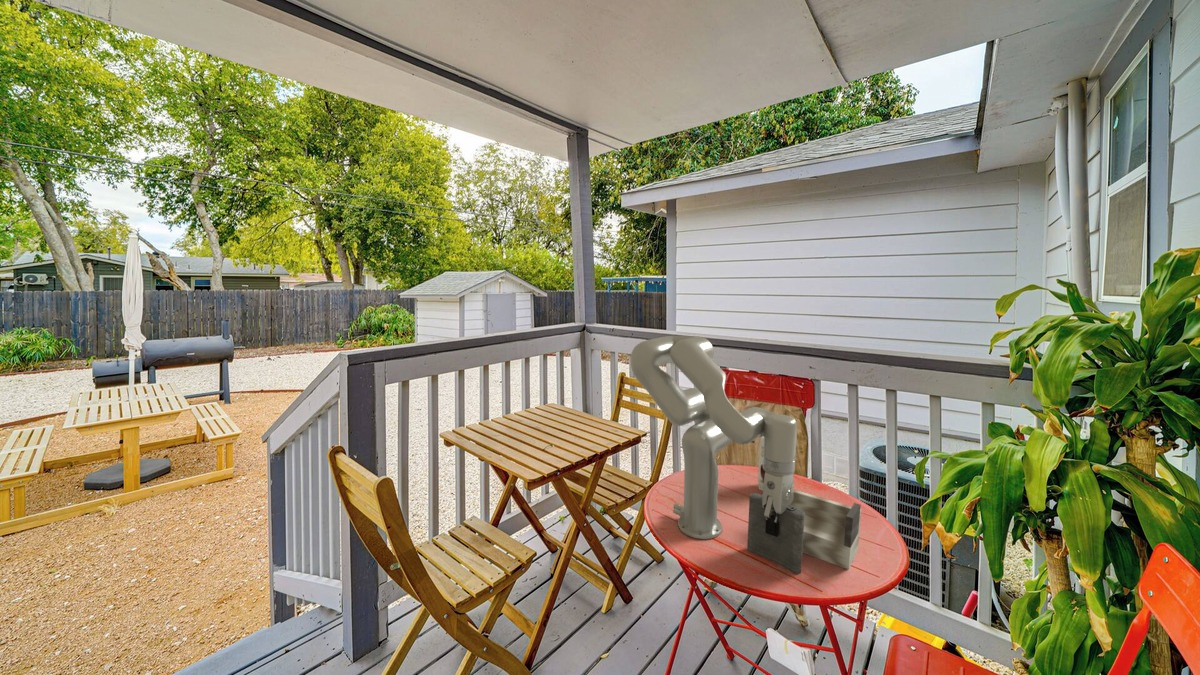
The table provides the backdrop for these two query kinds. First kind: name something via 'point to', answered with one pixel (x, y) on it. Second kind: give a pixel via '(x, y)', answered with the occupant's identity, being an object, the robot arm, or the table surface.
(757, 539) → the flask
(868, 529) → the table surface
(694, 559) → the table surface
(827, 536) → the stone display stand
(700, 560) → the table surface
